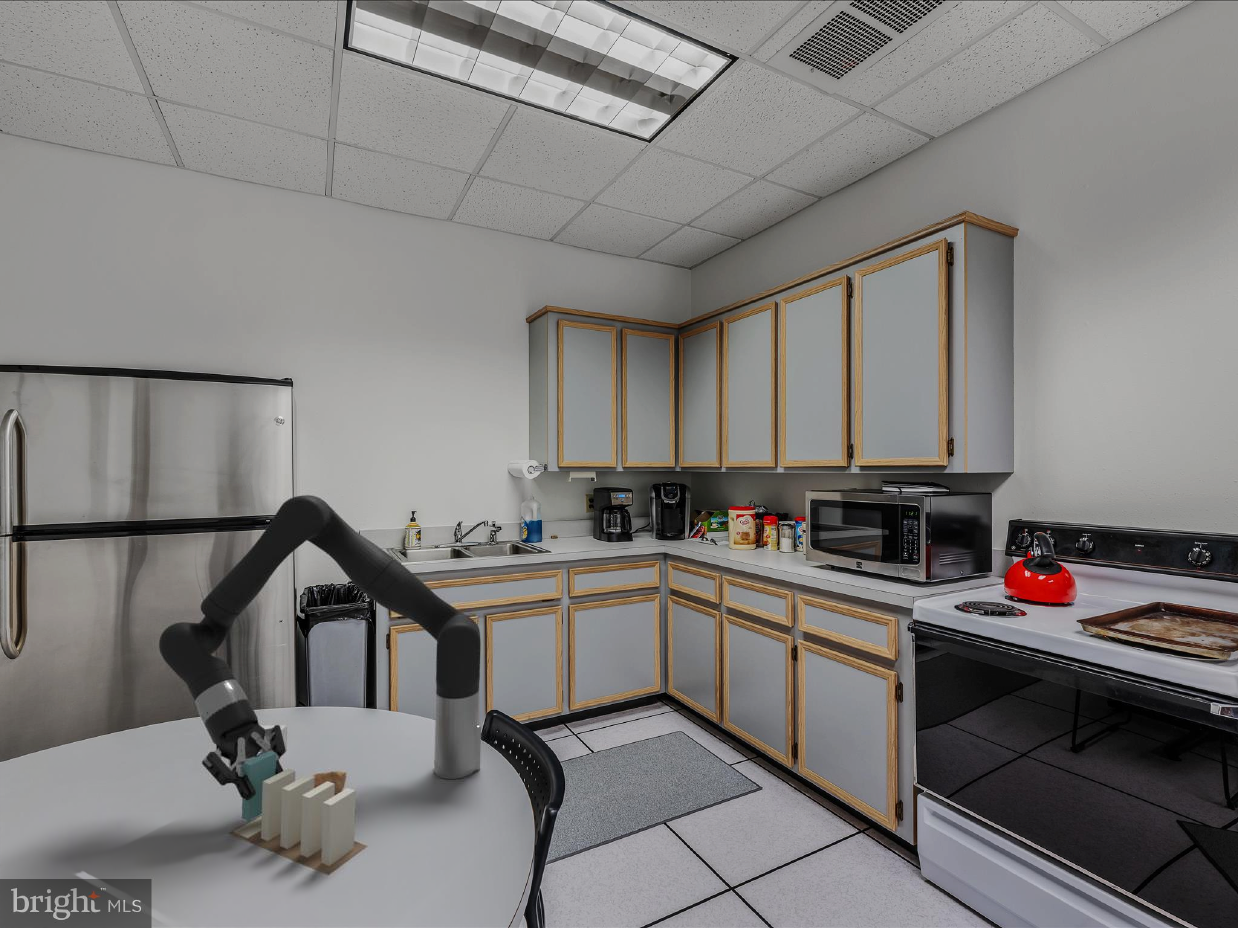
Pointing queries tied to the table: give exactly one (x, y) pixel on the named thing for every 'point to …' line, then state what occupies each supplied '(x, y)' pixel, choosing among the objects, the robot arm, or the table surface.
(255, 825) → the board
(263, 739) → the robot arm
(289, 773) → the domino
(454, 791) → the table surface
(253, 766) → the teal domino
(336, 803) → the domino
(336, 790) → the shard
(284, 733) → the white cube
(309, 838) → the domino
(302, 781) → the domino
